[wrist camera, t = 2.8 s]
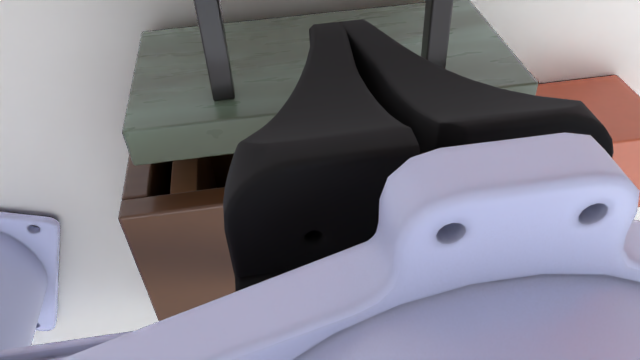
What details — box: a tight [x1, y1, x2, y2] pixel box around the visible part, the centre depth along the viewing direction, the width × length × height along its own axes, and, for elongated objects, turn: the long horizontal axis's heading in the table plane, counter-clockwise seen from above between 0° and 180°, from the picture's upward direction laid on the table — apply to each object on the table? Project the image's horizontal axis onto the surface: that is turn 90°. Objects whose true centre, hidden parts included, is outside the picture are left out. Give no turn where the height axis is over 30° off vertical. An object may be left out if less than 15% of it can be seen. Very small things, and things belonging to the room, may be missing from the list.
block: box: [536, 75, 640, 207], centre depth 24 cm, size 4×5×4 cm
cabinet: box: [118, 154, 236, 321], centre depth 24 cm, size 15×13×8 cm
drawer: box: [122, 0, 538, 194], centre depth 20 cm, size 19×11×6 cm, turn 3°
